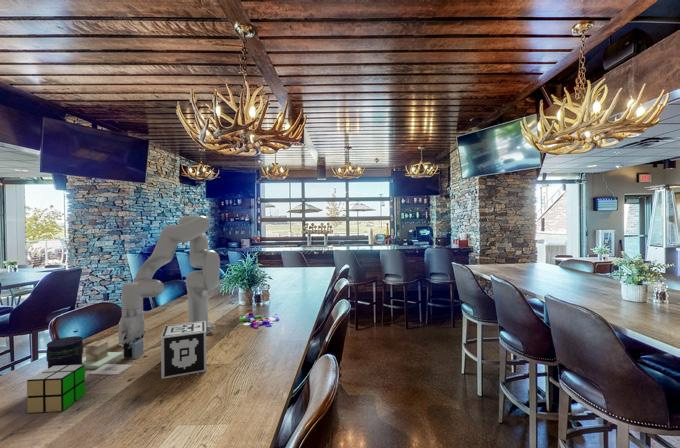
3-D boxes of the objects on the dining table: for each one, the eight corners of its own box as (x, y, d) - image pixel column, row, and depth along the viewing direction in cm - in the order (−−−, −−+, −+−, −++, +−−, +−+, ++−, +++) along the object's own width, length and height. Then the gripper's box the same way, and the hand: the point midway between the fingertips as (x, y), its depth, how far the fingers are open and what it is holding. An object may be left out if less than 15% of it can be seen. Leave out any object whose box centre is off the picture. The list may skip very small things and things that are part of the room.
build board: (123, 355, 137) (123, 352, 137) (99, 368, 124) (99, 365, 124) (94, 354, 138) (94, 351, 138) (67, 368, 125) (67, 364, 125)
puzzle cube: (53, 396, 105) (53, 365, 105) (86, 394, 106) (85, 363, 106) (26, 414, 95) (25, 380, 95) (62, 412, 96) (62, 378, 96)
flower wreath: (284, 325, 177) (284, 317, 177) (245, 331, 168) (245, 322, 168) (272, 314, 200) (272, 306, 200) (237, 318, 191) (237, 311, 191)
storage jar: (42, 393, 106) (41, 339, 106) (51, 380, 115) (51, 330, 115) (80, 386, 111) (79, 334, 111) (86, 374, 120) (86, 326, 120)
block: (165, 362, 130) (165, 325, 130) (205, 356, 136) (205, 320, 136) (161, 379, 116) (160, 337, 116) (206, 371, 122) (206, 331, 122)
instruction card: (132, 365, 127) (132, 364, 127) (117, 375, 119) (117, 373, 119) (106, 364, 128) (106, 363, 128) (89, 374, 120) (89, 373, 120)
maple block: (107, 355, 134) (107, 341, 134) (97, 360, 129) (97, 345, 129) (96, 355, 134) (96, 341, 134) (86, 360, 129) (85, 345, 129)
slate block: (143, 353, 139) (143, 339, 139) (135, 358, 134) (135, 344, 134) (132, 353, 139) (132, 339, 139) (123, 358, 134) (123, 343, 134)
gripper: (137, 306, 145) (138, 346, 145) (108, 317, 128) (108, 363, 128) (153, 306, 145) (154, 347, 145) (126, 317, 128) (126, 363, 128)
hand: (132, 354), depth 136 cm, fingers closed on slate block, 5 cm apart
